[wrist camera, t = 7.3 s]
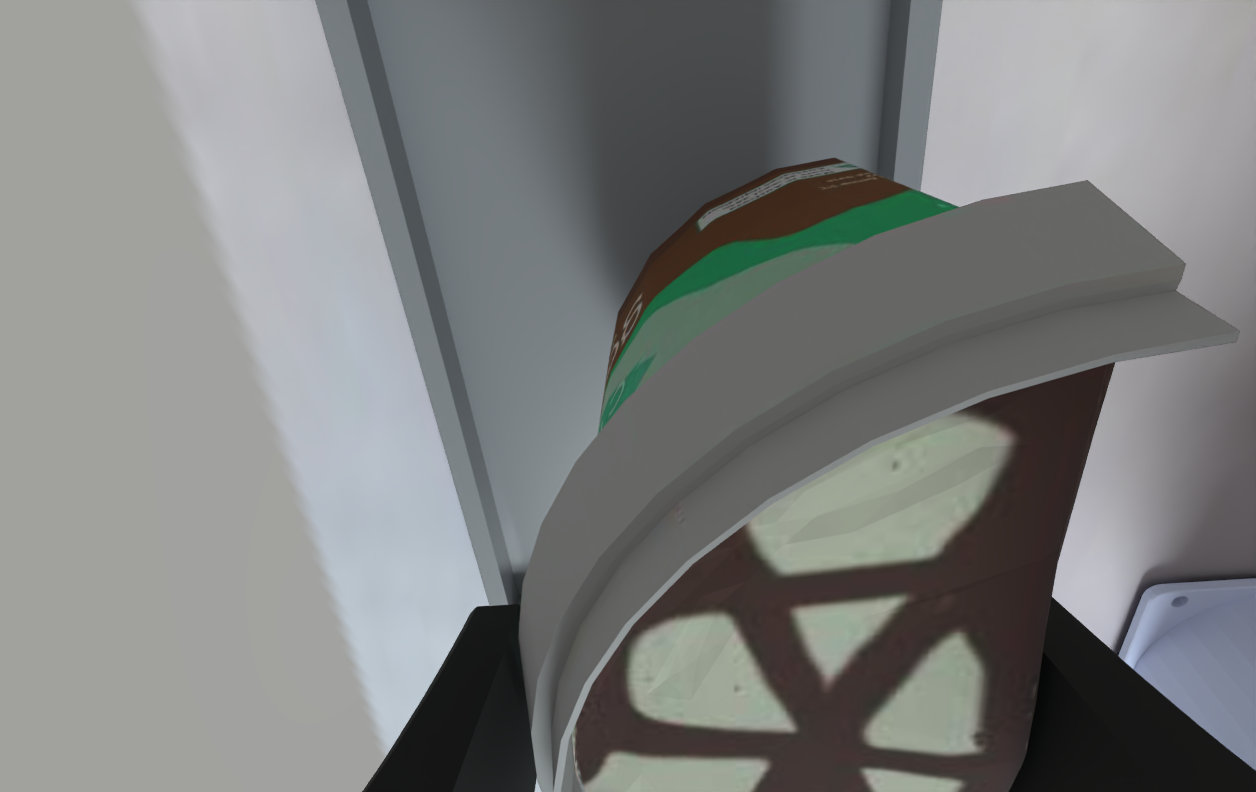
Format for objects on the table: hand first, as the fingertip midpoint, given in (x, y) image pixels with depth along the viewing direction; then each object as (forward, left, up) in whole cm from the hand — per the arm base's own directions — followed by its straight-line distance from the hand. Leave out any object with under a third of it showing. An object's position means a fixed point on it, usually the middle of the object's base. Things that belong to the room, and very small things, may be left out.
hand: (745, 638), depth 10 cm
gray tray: (+1, 0, -10) cm, 10 cm away
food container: (0, 0, -8) cm, 8 cm away
